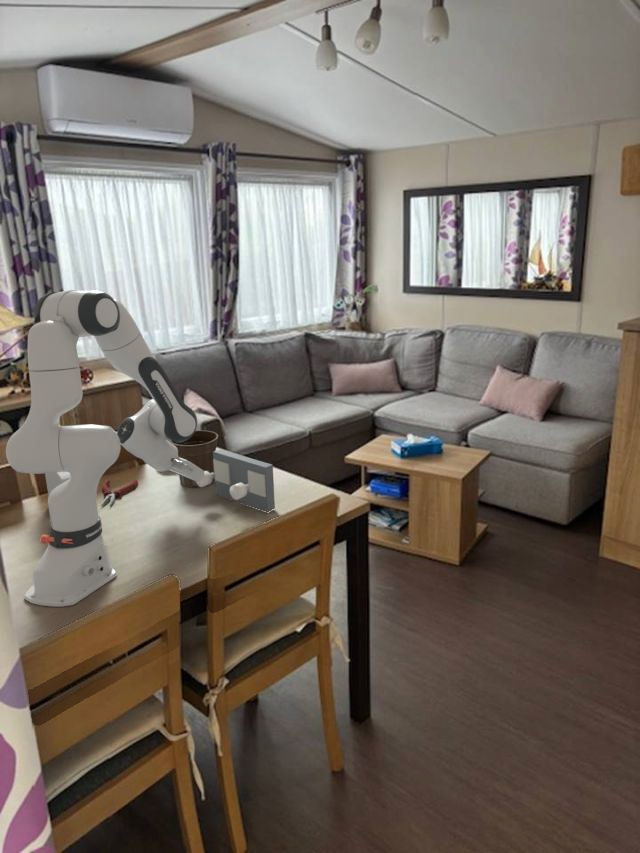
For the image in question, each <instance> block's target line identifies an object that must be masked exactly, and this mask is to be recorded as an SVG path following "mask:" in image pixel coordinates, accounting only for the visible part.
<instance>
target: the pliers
mask: <svg viewBox="0 0 640 853" xmlns="http://www.w3.org/2000/svg"><path fill="white" fill-rule="evenodd" d="M109 484H110V485H111V481H110V479H106V480H105V481H104V483H103V484H102V485H101V486H102V487H101V488H102V492H103V493H102V494H103V501H102V503H101V505H100V507H104V506H105V505H107V504H108V503H109V506H112V505H113V504H114V502H115V501H116V499H118V498H119V499H121V498H122V497H123V495H126V494H128V493H130V492H132V491H133V490H135V489H137V487H138V486H139V485H138V484H139V481H138V479H136V478H134V479H133V480H132V482H131V483H129V484H127V485H124V486H123V487H121V488H119V489H116V490H114V491H113V492H112V490H110V487H109V486H110V485H109Z"/></svg>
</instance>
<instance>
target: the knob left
mask: <svg viewBox="0 0 640 853" xmlns="http://www.w3.org/2000/svg"><path fill="white" fill-rule="evenodd" d="M214 478H215V474H214V473H213V472H212V473H209V472H208V471H204V475H203V477H202V479H201V480H200V481H199V482H197V481H196V483H197V485H198V486H200V487H199V488H203V487H206V485H207V486H209V485H211V484H212V483H211V482H212V479H214ZM198 486H197V487H198Z"/></svg>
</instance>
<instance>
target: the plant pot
mask: <svg viewBox="0 0 640 853" xmlns="http://www.w3.org/2000/svg"><path fill="white" fill-rule="evenodd" d="M218 439H219V434H218V433H217V432H214V431H210V430H202V429H201V430H200V429H198V430H197V429H196V430H195V432H194V434H193V435H192V437H191V438H189V439H188V440H186V441H184V442H182V443H176V442H174V441H172V440H170V439H169V442H170V443H172V444H173V445H174V446H176V447H177V449H178V457H180V458H182V459H185V460H187V461H189V462H191V463H193V464H194V465H196V466H197V467H199V468H200V469H202V470H203V471H208V472H209V473H212V472H213V473H214V463H213V460H214V456H213V452H214V451H217V447H218V446H217V445H218V444H217V443H218ZM178 476H179V482H180V484H181V485H182V486H184V487H187V488H194V487H197V488H201V487H200V486H198V485H197V483H196V481H194V480H192V479H189V478H187V477H185V476H182V475H180V474H178ZM213 483H215V478H214V479H212V482H211V484H213ZM206 486H208V485H206ZM206 486H205V487H206Z"/></svg>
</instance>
